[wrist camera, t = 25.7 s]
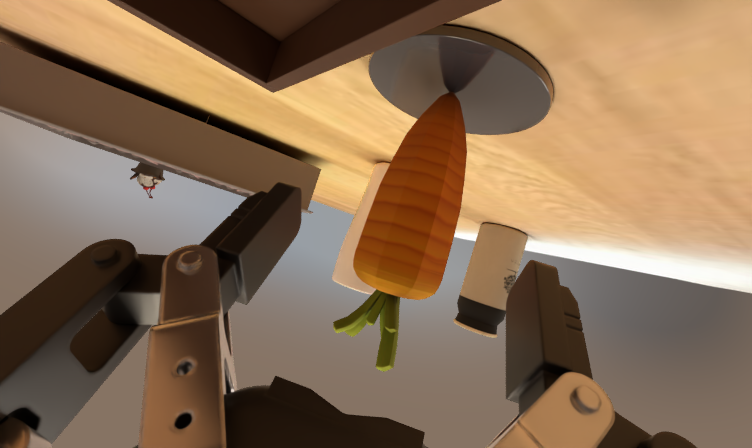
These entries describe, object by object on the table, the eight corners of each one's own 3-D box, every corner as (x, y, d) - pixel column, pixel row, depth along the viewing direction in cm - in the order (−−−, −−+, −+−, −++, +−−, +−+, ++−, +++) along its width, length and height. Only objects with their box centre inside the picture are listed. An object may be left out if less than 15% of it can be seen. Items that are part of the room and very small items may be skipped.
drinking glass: (393, 157, 38) (350, 290, 37) (434, 179, 42) (396, 300, 41) (359, 158, 43) (321, 274, 42) (398, 178, 47) (364, 284, 46)
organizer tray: (-41, 9, 34) (-80, 102, 34) (330, 161, 50) (308, 227, 50) (82, 96, 64) (62, 147, 63) (291, 175, 80) (277, 216, 79)
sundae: (184, 143, 84) (163, 201, 83) (158, 135, 84) (136, 193, 83) (169, 134, 78) (145, 198, 77) (140, 125, 78) (117, 188, 77)
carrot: (422, 109, 22) (350, 335, 21) (396, 63, 18) (303, 345, 17) (501, 118, 20) (424, 370, 19) (493, 68, 16) (394, 392, 15)
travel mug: (485, 228, 66) (458, 319, 65) (477, 219, 59) (446, 321, 58) (530, 239, 62) (501, 336, 61) (526, 230, 55) (494, 340, 54)
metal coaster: (484, -10, 12) (480, 3, 12) (584, 120, 19) (582, 129, 19) (337, 56, 20) (335, 64, 20) (443, 132, 26) (441, 138, 26)
